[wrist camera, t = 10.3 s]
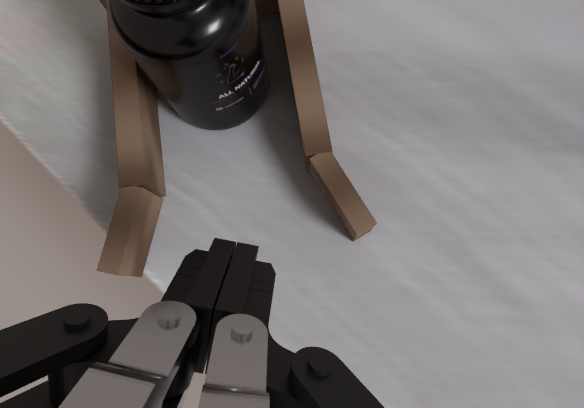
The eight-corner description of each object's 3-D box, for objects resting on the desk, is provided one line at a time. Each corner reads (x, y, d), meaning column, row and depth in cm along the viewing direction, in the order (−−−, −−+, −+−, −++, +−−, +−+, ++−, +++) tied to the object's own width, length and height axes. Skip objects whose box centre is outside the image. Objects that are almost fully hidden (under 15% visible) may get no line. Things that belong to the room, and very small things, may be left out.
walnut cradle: (371, 238, 24) (396, 213, 16) (123, 279, 24) (31, 275, 17) (318, -22, 28) (317, -143, 20) (105, 18, 28) (24, -84, 21)
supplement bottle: (261, 140, 26) (213, 16, 14) (160, 126, 26) (32, -3, 15) (280, 44, 27) (250, -143, 15) (183, 33, 28) (82, -154, 16)
